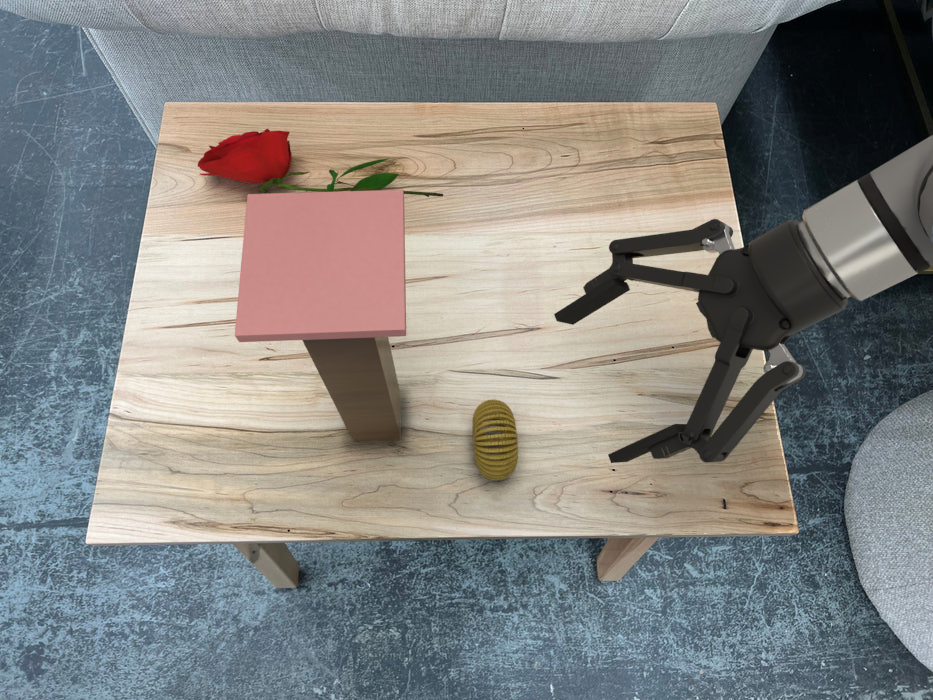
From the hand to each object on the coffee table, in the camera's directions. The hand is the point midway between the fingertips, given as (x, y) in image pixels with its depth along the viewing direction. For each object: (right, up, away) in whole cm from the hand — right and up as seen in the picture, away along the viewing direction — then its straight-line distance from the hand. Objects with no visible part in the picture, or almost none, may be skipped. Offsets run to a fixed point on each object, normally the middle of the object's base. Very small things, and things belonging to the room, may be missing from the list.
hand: (589, 386), depth 61 cm
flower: (-28, +23, +23) cm, 43 cm away
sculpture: (-8, -7, +11) cm, 15 cm away
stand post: (-20, -4, +12) cm, 24 cm away
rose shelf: (-20, +9, -18) cm, 28 cm away
